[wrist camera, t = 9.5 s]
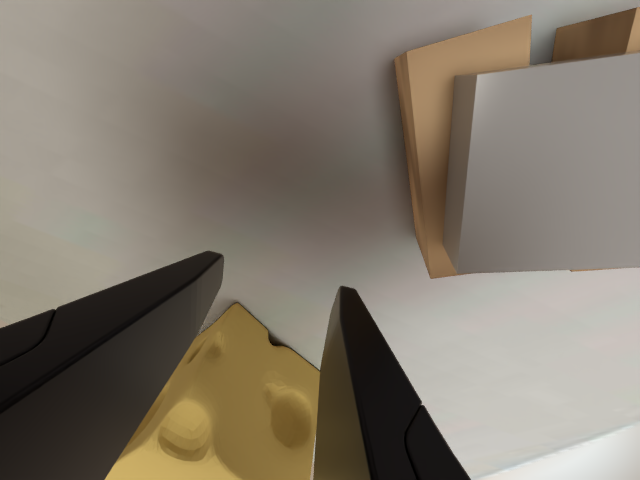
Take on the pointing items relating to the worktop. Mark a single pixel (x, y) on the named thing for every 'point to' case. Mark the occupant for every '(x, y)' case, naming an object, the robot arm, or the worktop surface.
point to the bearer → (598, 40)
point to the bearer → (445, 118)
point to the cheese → (229, 411)
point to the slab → (545, 167)
